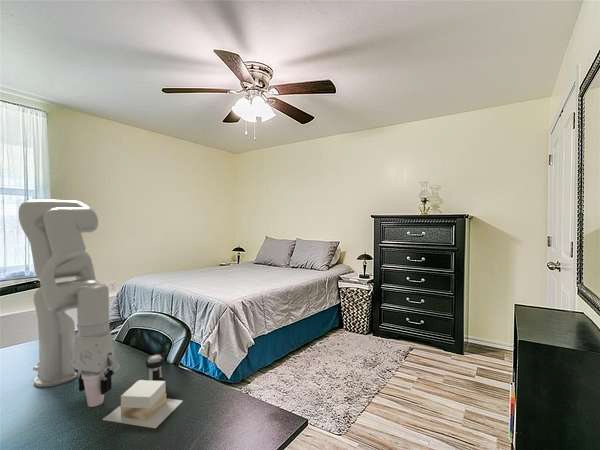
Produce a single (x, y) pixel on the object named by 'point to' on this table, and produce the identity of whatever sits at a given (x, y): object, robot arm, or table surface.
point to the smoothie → (93, 388)
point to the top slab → (143, 394)
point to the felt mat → (151, 423)
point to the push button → (155, 367)
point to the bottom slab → (143, 410)
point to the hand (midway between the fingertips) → (95, 389)
